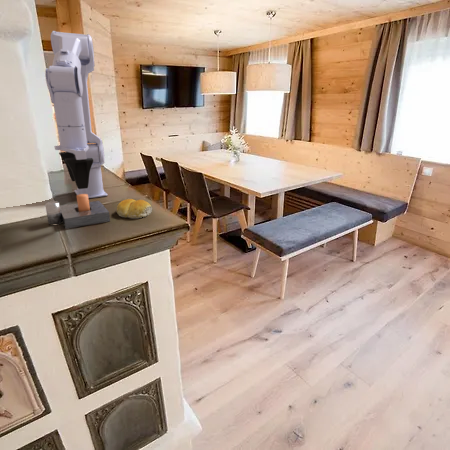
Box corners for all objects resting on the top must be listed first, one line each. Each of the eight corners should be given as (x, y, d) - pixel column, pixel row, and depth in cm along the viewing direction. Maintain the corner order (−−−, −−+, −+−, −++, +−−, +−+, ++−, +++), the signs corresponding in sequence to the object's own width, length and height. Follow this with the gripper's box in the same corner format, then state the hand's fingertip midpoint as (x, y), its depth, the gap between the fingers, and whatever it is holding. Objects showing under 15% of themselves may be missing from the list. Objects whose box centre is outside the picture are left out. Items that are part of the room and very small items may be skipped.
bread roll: (127, 207, 87) (126, 193, 86) (156, 211, 85) (155, 197, 84) (109, 216, 80) (108, 202, 79) (140, 221, 78) (139, 206, 76)
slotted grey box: (46, 217, 77) (42, 198, 75) (100, 209, 84) (98, 191, 82) (51, 231, 70) (47, 210, 68) (110, 221, 77) (108, 202, 75)
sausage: (78, 217, 78) (74, 195, 76) (88, 215, 80) (85, 193, 77) (82, 220, 76) (78, 197, 74) (92, 218, 78) (89, 195, 76)
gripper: (47, 123, 73) (56, 179, 78) (55, 129, 62) (66, 194, 67) (79, 122, 76) (86, 176, 82) (92, 128, 65) (100, 190, 71)
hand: (79, 184), depth 74 cm, fingers open, 7 cm apart
